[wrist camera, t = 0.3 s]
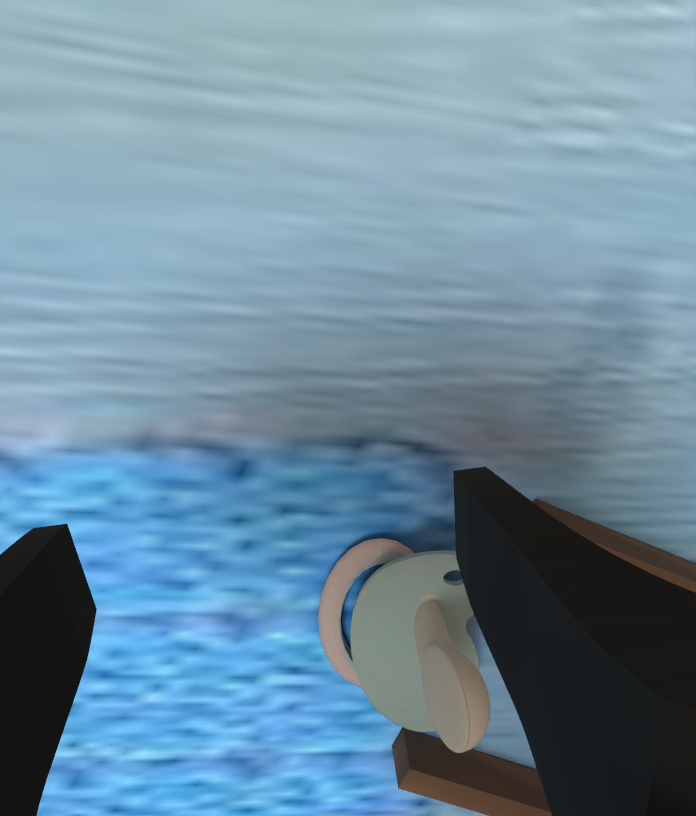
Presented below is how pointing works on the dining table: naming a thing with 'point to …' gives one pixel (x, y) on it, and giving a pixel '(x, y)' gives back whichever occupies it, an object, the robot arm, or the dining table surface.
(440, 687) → the pacifier
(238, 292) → the dining table surface
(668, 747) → the robot arm
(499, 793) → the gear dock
